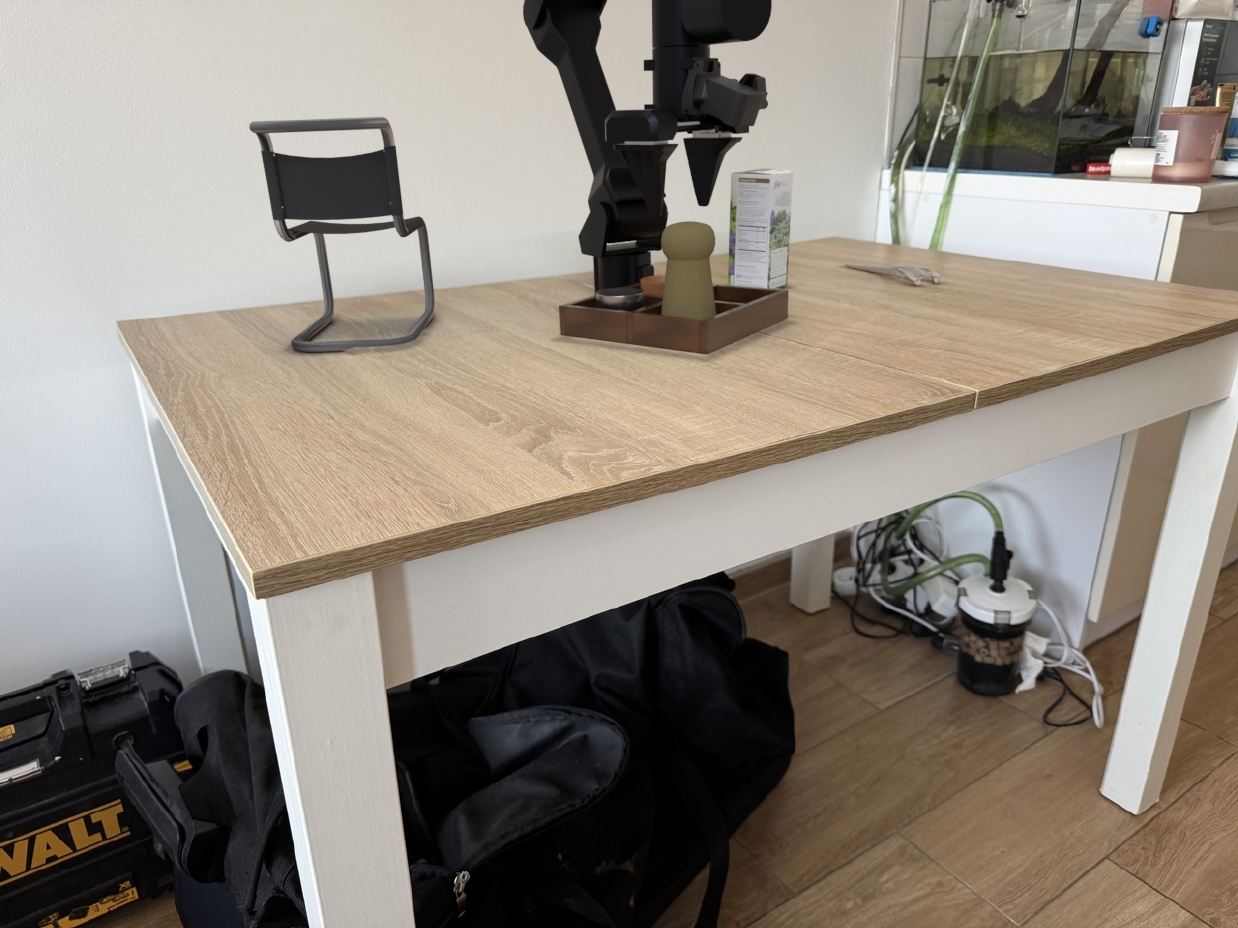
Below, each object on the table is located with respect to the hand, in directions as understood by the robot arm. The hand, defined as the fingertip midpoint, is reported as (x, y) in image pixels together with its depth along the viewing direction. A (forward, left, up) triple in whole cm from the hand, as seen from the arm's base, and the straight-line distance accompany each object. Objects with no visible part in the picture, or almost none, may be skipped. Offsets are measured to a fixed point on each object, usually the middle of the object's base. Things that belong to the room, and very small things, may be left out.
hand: (680, 210), depth 96 cm
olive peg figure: (+6, -8, -11) cm, 15 cm away
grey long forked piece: (+10, +37, -12) cm, 40 cm away
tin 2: (-2, 0, -11) cm, 12 cm away
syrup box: (-1, +21, -12) cm, 24 cm away
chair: (-28, -20, -12) cm, 37 cm away
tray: (+2, -4, -12) cm, 13 cm away
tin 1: (-2, -8, -11) cm, 14 cm away
